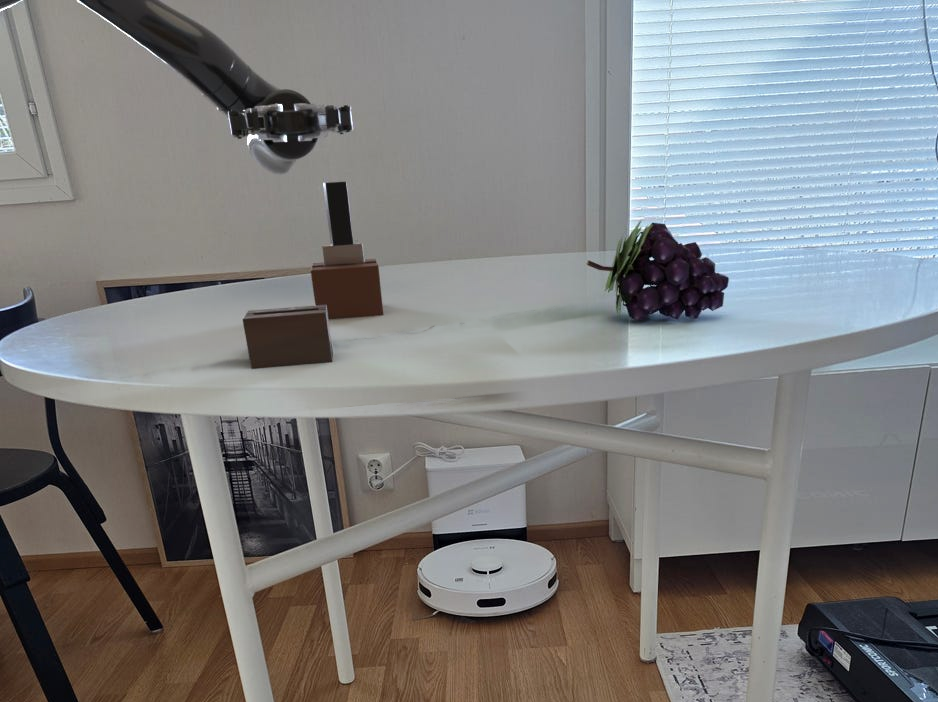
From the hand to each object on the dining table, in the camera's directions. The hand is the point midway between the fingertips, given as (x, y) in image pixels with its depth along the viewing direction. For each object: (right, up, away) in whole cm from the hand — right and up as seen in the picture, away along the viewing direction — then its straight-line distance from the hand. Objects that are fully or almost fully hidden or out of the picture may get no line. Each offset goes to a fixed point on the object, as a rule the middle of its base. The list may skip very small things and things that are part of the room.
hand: (294, 117), depth 96 cm
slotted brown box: (+6, -23, +1) cm, 24 cm away
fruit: (+40, -24, -4) cm, 47 cm away
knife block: (+4, -34, -17) cm, 38 cm away
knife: (+6, -23, +1) cm, 23 cm away
